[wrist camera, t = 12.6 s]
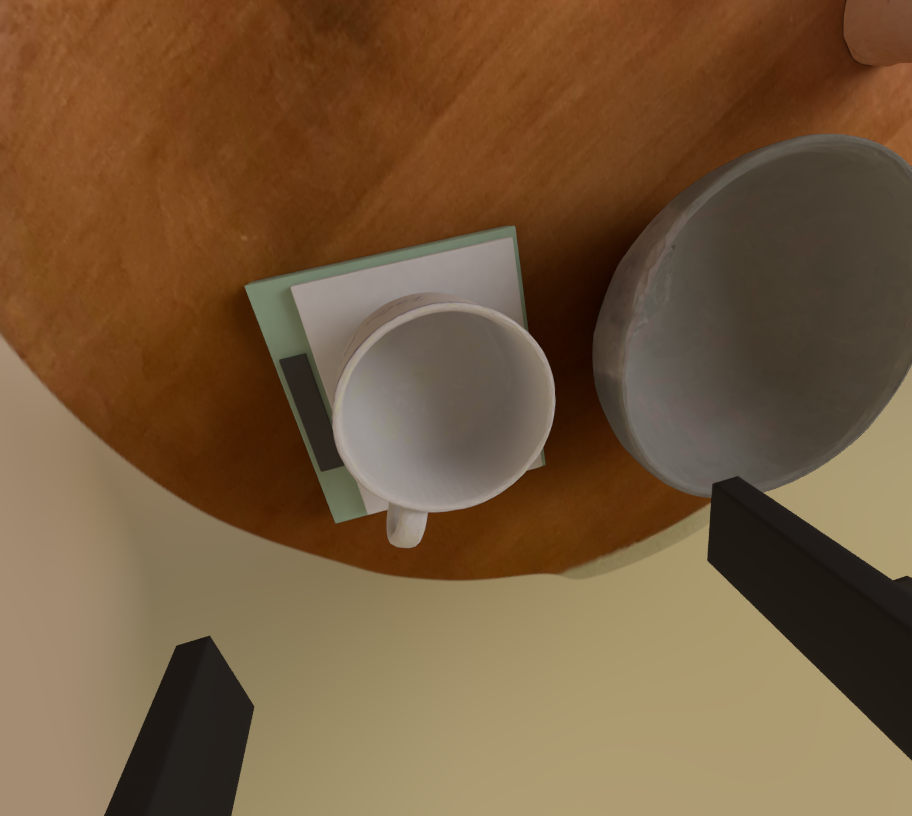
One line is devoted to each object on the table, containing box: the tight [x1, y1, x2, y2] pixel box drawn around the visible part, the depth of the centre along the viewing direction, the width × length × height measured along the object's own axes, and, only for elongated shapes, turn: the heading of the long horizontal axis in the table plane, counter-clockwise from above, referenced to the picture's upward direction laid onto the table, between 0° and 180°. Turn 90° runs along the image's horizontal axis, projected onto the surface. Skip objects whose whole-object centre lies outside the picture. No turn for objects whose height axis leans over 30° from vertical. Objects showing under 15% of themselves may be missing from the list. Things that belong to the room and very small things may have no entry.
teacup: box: [332, 292, 555, 548], centre depth 25 cm, size 14×11×8 cm
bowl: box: [592, 134, 912, 498], centre depth 28 cm, size 20×20×10 cm
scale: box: [244, 226, 545, 523], centre depth 30 cm, size 16×17×3 cm
